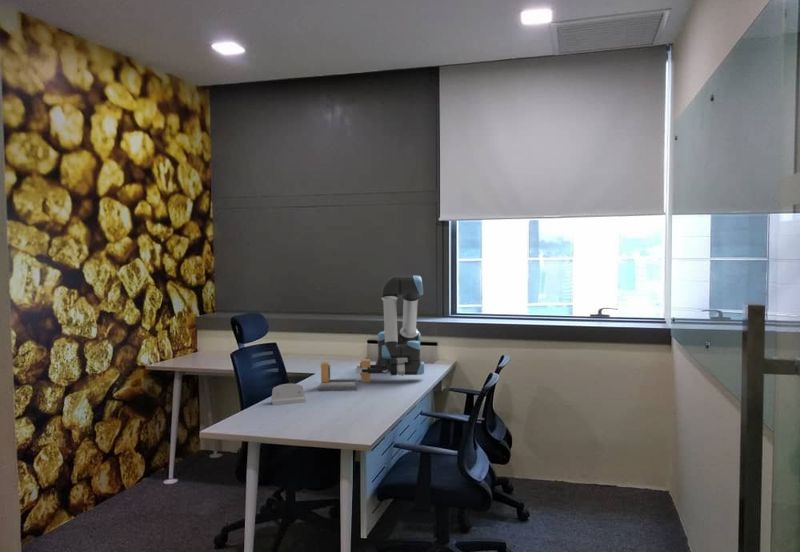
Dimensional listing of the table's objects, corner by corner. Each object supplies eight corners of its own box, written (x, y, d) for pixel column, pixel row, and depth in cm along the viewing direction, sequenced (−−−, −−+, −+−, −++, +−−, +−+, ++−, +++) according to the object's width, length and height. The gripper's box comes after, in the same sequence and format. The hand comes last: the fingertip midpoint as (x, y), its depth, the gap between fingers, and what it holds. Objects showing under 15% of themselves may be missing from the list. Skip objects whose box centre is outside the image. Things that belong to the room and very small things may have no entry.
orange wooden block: (361, 379, 329) (360, 359, 329) (370, 379, 330) (370, 359, 329) (360, 381, 324) (360, 360, 324) (370, 381, 325) (369, 360, 324)
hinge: (271, 405, 280) (270, 384, 283) (271, 405, 284) (270, 385, 287) (305, 402, 284) (304, 381, 287) (305, 402, 288) (304, 383, 291)
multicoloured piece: (321, 384, 320) (321, 360, 319) (358, 383, 320) (357, 359, 319) (318, 390, 306) (317, 365, 305) (356, 390, 306) (356, 365, 305)
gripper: (397, 378, 318) (355, 379, 318) (397, 371, 336) (357, 372, 336) (397, 365, 318) (355, 366, 317) (396, 359, 336) (357, 359, 335)
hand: (356, 369), depth 327 cm, fingers closed on orange wooden block, 5 cm apart
